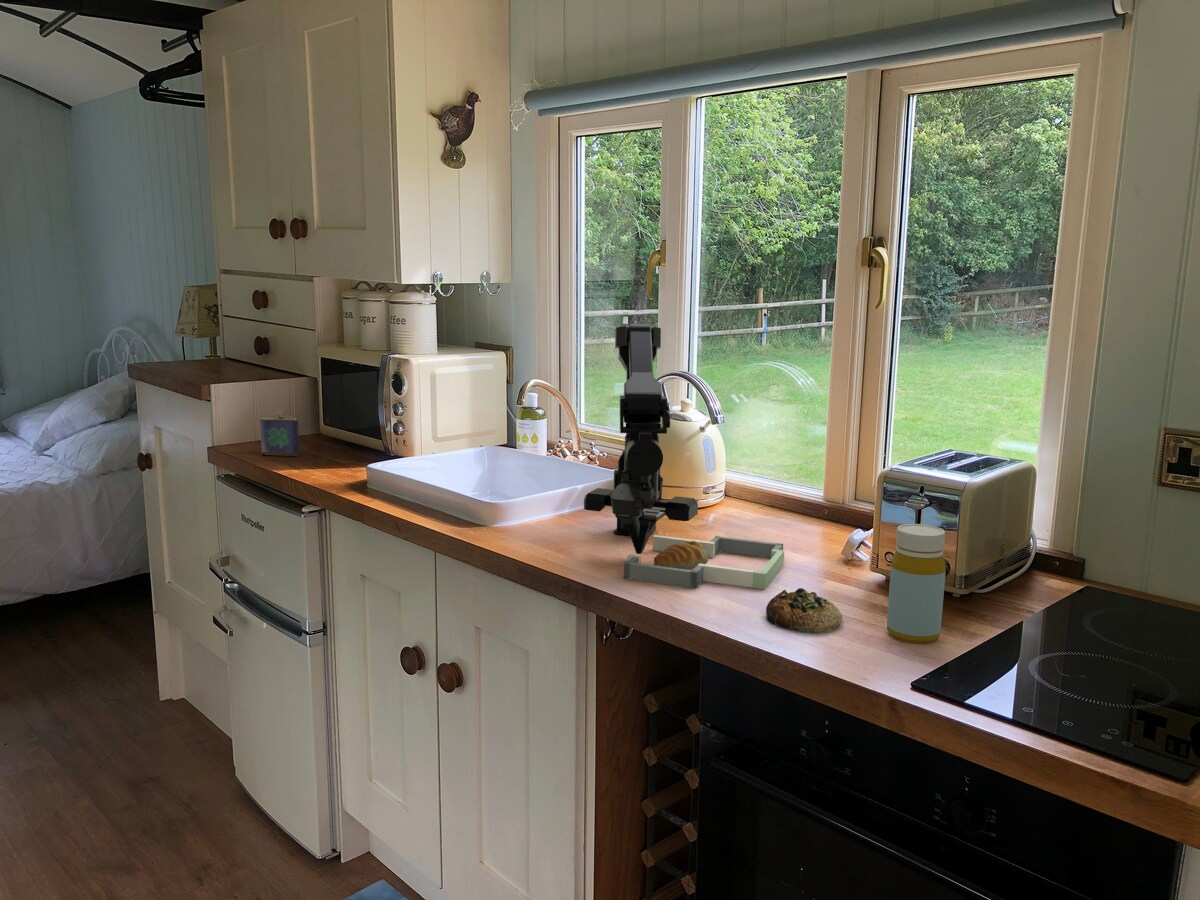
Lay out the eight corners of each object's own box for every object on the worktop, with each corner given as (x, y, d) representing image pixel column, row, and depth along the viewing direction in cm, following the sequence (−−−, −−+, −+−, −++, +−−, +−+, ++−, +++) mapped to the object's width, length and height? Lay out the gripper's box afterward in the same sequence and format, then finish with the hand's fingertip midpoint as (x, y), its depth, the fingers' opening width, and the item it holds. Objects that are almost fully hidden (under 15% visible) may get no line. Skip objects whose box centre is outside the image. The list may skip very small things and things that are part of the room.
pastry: (672, 577, 160) (672, 554, 159) (642, 567, 165) (643, 545, 164) (711, 566, 166) (711, 544, 166) (681, 557, 171) (682, 535, 171)
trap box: (618, 577, 159) (618, 562, 158) (661, 543, 179) (662, 529, 178) (759, 597, 150) (759, 581, 150) (788, 558, 170) (789, 544, 170)
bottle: (878, 626, 139) (886, 523, 136) (927, 626, 139) (935, 522, 136) (897, 645, 132) (905, 537, 129) (948, 644, 132) (957, 536, 130)
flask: (260, 456, 253) (258, 411, 251) (265, 453, 256) (263, 409, 254) (297, 457, 252) (295, 412, 250) (302, 455, 255) (300, 410, 253)
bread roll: (749, 611, 144) (755, 578, 143) (812, 612, 148) (818, 580, 148) (792, 641, 134) (799, 606, 133) (858, 641, 139) (865, 607, 138)
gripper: (570, 467, 162) (570, 558, 165) (679, 477, 155) (676, 573, 158) (597, 455, 172) (596, 542, 175) (700, 465, 165) (697, 555, 168)
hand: (639, 553), depth 169 cm, fingers closed
